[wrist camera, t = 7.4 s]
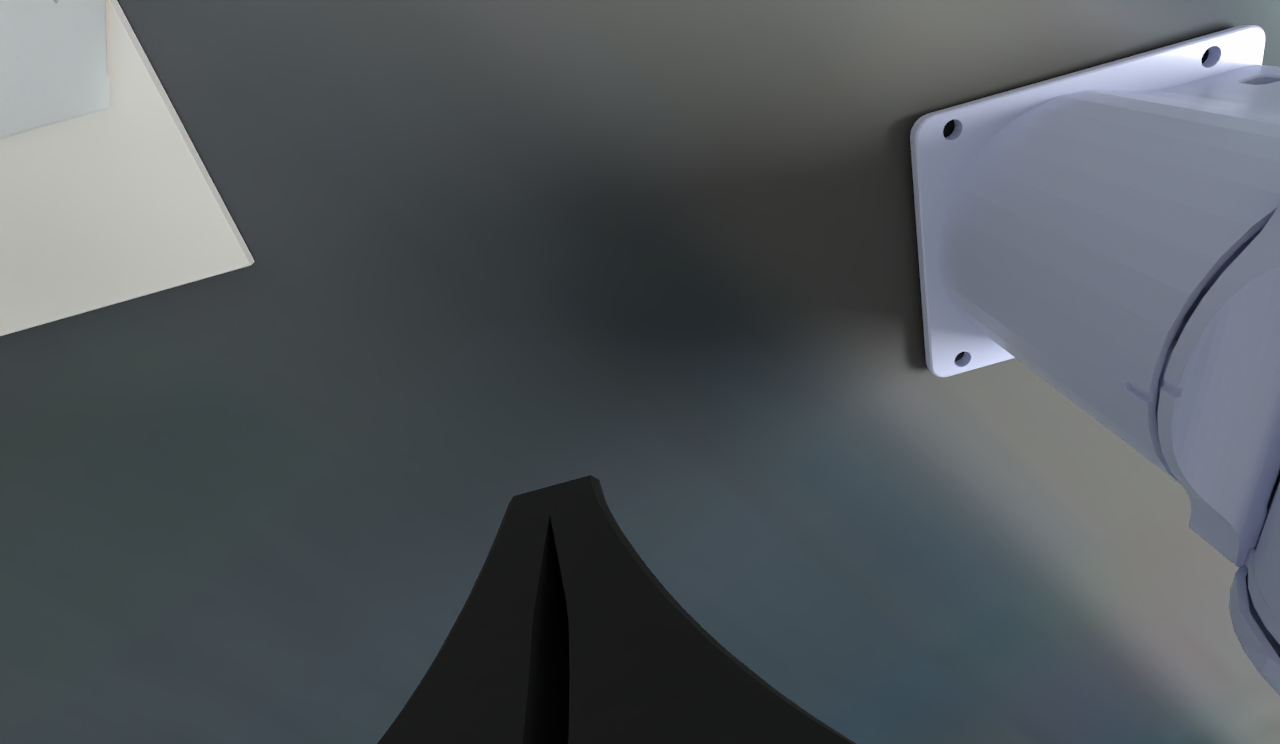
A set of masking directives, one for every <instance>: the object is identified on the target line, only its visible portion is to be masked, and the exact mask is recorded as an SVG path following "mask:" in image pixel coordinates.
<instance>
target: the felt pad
mask: <svg viewBox="0 0 1280 744" xmlns="http://www.w3.org/2000/svg"><path fill="white" fill-rule="evenodd" d="M106 38H107V65H108V74H109V78H110V106H109V108H108V109H105V110H101V111H97V112H93V113H90V114H86V115H82V116H79V117H75V118H72V119H69V120H65V121H62V122H58V123H54V124H50V125H47V126H43V127H40V128H36V129H33V130H29V131H26V132H23V133H19V134H16V135H13V136H10V137H7V138H4V139H0V336H3V335H6V334H10V333H13V332H17V331H20V330H24V329H27V328H31V327H34V326H38V325H41V324H45V323H49V322H52V321H56V320H59V319H63V318H66V317H70V316H73V315H77V314H80V313H84V312H87V311H91V310H94V309H98V308H102V307H105V306H109V305H112V304H116V303H119V302H123V301H126V300H130V299H133V298H137V297H140V296H144V295H148V294H151V293H155V292H158V291H162V290H165V289H169V288H172V287H176V286H179V285H183V284H186V283H190V282H194V281H197V280H201V279H204V278H208V277H211V276H215V275H218V274H222V273H225V272H229V271H232V270H236V269H240V268H243V267H247V266H250V265H252V264H253V263H254V262H255V261H254V259H253V257H252V255H251V253H250V252H249V250H248V248H247V246H246V244H245V242H244V240H243V238H242V236H241V234H240V233H239V231H238V229H237V227H236V225H235V223H234V221H233V219H232V217H231V215H230V214H229V212H228V210H227V208H226V206H225V204H224V202H223V200H222V198H221V197H220V195H219V193H218V191H217V189H216V187H215V185H214V183H213V181H212V179H211V178H210V176H209V174H208V172H207V170H206V168H205V166H204V164H203V162H202V161H201V159H200V157H199V155H198V153H197V151H196V149H195V147H194V145H193V143H192V142H191V140H190V138H189V136H188V134H187V132H186V130H185V128H184V126H183V124H182V123H181V121H180V119H179V117H178V115H177V113H176V111H175V109H174V107H173V106H172V104H171V102H170V100H169V98H168V96H167V94H166V92H165V90H164V88H163V87H162V85H161V83H160V81H159V79H158V77H157V75H156V73H155V71H154V70H153V68H152V66H151V64H150V62H149V60H148V58H147V56H146V54H145V52H144V51H143V49H142V47H141V45H140V43H139V41H138V39H137V37H136V35H135V33H134V32H133V30H132V28H131V26H130V24H129V22H128V20H127V18H126V16H125V15H124V13H123V11H122V9H121V7H120V5H119V3H118V1H117V0H106Z"/></svg>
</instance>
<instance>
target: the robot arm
mask: <svg viewBox="0 0 1280 744" xmlns="http://www.w3.org/2000/svg"><path fill="white" fill-rule="evenodd" d="M1264 46H1265V33H1264V31H1263V29H1262V28H1260V27H1258V26H1256V25H1240V26H1236V27H1233V28H1229V29H1226V30H1222V31H1219V32H1215V33H1212V34H1208V35H1204V36H1201V37H1197V38H1194V39H1190V40H1187V41H1183V42H1180V43H1176V44H1173V45H1169V46H1165V47H1162V48H1158V49H1155V50H1151V51H1148V52H1144V53H1141V54H1137V55H1134V56H1130V57H1127V58H1123V59H1119V60H1116V61H1112V62H1109V63H1105V64H1102V65H1098V66H1095V67H1091V68H1088V69H1084V70H1080V71H1077V72H1073V73H1070V74H1066V75H1063V76H1059V77H1056V78H1052V79H1049V80H1045V81H1042V82H1038V83H1034V84H1031V85H1027V86H1024V87H1020V88H1017V89H1013V90H1010V91H1006V92H1003V93H999V94H996V95H992V96H988V97H985V98H981V99H978V100H974V101H971V102H967V103H964V104H960V105H957V106H953V107H949V108H946V109H942V110H939V111H935V112H932V113H928V114H926V115H924V116H922V117H920V118H919V119H918V120H917V121H916V122H915V123H914V125H913V127H912V129H911V134H910V144H911V158H912V173H913V187H914V201H915V215H916V229H917V243H918V257H919V271H920V285H921V299H922V313H923V327H924V341H925V355H926V365H927V368H928V369H929V370H930V371H931V372H932V373H933V374H934V375H935V376H938V377H948V376H952V375H955V374H959V373H962V372H966V371H970V370H973V369H977V368H980V367H984V366H987V365H991V364H995V363H998V362H1002V361H1005V360H1009V359H1012V358H1016V359H1017V360H1019V361H1020V362H1021V363H1023V364H1024V365H1025V366H1027V367H1028V368H1029V369H1031V370H1032V371H1033V372H1035V373H1036V374H1037V375H1038V376H1040V377H1041V378H1042V379H1044V380H1045V381H1046V382H1048V383H1049V384H1050V385H1052V386H1053V387H1054V388H1055V389H1057V390H1058V391H1059V392H1061V393H1062V394H1063V395H1065V396H1066V397H1067V398H1069V399H1070V400H1071V401H1072V402H1074V403H1075V404H1076V405H1078V406H1079V407H1080V408H1082V409H1083V410H1084V411H1086V412H1087V413H1088V414H1090V415H1091V416H1092V417H1093V418H1095V419H1096V420H1097V421H1099V422H1100V423H1101V424H1103V425H1104V426H1105V427H1107V428H1108V429H1109V430H1110V431H1112V432H1113V433H1114V434H1116V435H1117V436H1118V437H1120V438H1121V439H1122V440H1124V441H1125V442H1126V443H1127V444H1129V445H1130V446H1131V447H1133V448H1134V449H1135V450H1137V451H1138V452H1139V453H1141V454H1142V455H1143V456H1145V457H1146V458H1147V459H1148V460H1150V461H1151V462H1152V463H1154V464H1155V465H1156V466H1158V467H1159V468H1160V469H1162V470H1163V471H1164V472H1165V473H1167V474H1168V475H1169V476H1171V477H1172V478H1173V479H1175V480H1176V481H1177V482H1179V483H1180V484H1181V485H1182V486H1183V487H1184V489H1185V490H1186V491H1187V493H1188V495H1189V498H1190V501H1191V517H1190V522H1189V527H1190V528H1191V529H1192V530H1193V531H1195V532H1196V533H1197V534H1198V535H1200V536H1201V537H1202V538H1203V539H1204V540H1206V541H1207V542H1208V543H1209V544H1210V545H1212V546H1213V547H1214V548H1215V549H1217V550H1218V551H1219V552H1220V553H1221V554H1223V555H1224V556H1225V557H1226V558H1228V559H1229V560H1230V561H1231V562H1232V563H1234V564H1235V565H1236V566H1238V567H1240V568H1239V569H1238V571H1237V572H1236V574H1235V577H1234V580H1233V583H1232V586H1231V588H1230V602H1229V609H1230V614H1231V619H1232V623H1233V627H1234V631H1235V633H1236V635H1237V637H1238V639H1239V641H1240V643H1241V645H1242V647H1243V650H1244V652H1245V653H1246V655H1247V656H1248V657H1249V659H1250V660H1251V662H1252V663H1253V664H1254V666H1255V667H1256V669H1257V670H1258V671H1259V673H1260V674H1261V676H1262V677H1263V678H1264V679H1265V680H1266V681H1267V682H1268V683H1269V684H1270V685H1271V687H1272V688H1273V689H1274V690H1275V691H1276V692H1277V693H1278V694H1279V695H1280V67H1276V66H1266V65H1262V60H1263V53H1264ZM1207 49H1209V55H1208V58H1207V60H1206V61H1205V62H1204V63H1203V64H1202V60H1201V59H1202V56H1203V54H1204V53H1205V51H1206V50H1207ZM952 119H953V120H954V123H955V128H954V131H953V132H952V134H951V135H950V136H948V137H946V138H944V135H943V129H944V126H945V125H946V124H947V122H949V121H951V120H952ZM961 352H964V356H963V357H962V358H961V359H960V360H958V361H955V357H956V356H957V355H958V354H959V353H961ZM378 744H856V743H854V742H853V741H851V740H849V739H848V738H846V737H845V736H843V735H841V734H840V733H838V732H837V731H835V730H833V729H832V728H830V727H829V726H827V725H826V724H824V723H823V722H821V721H820V720H818V719H817V718H815V717H813V716H812V715H810V714H809V713H808V712H806V711H805V710H803V709H802V708H801V707H799V706H798V705H796V704H795V703H794V702H792V701H791V700H789V699H788V698H786V697H785V696H784V695H782V694H781V693H779V692H778V691H777V690H775V689H774V688H773V687H772V686H770V685H769V684H768V683H767V682H765V681H764V680H763V679H762V678H760V677H759V676H758V675H757V674H755V673H754V672H753V671H752V670H750V669H749V668H748V667H747V666H745V665H744V664H743V663H742V662H740V661H739V660H738V659H737V658H736V657H734V656H733V655H732V654H731V653H729V652H728V651H727V650H726V649H725V648H724V647H723V646H722V645H720V644H719V643H718V642H717V641H716V640H715V639H714V638H713V637H712V636H711V635H710V634H709V633H707V632H706V631H705V630H704V629H703V628H702V627H701V626H700V625H699V624H698V623H697V622H696V621H695V620H694V619H693V618H692V617H691V616H690V615H689V614H688V613H687V612H686V611H685V610H684V609H683V608H682V607H681V606H680V604H679V603H678V602H677V601H676V600H675V599H674V598H673V597H672V596H671V595H670V593H669V592H668V591H667V590H666V589H665V588H664V586H663V585H662V584H661V583H660V582H659V580H658V579H657V578H656V577H655V576H654V575H653V573H652V572H651V571H650V570H649V568H648V567H647V566H646V564H645V563H644V562H643V561H642V559H641V558H640V557H639V555H638V554H637V552H636V551H635V549H634V548H633V547H632V545H631V544H630V542H629V541H628V539H627V538H626V537H625V535H624V534H623V532H622V530H621V529H620V527H619V526H618V524H617V522H616V521H615V519H614V517H613V515H612V513H611V512H610V510H609V508H608V506H607V504H606V501H605V498H604V494H603V491H602V488H601V485H600V481H599V479H597V478H595V477H593V476H591V475H590V476H586V477H582V478H579V479H575V480H571V481H568V482H564V483H561V484H557V485H553V486H550V487H546V488H542V489H539V490H535V491H531V492H528V493H524V494H520V495H517V496H514V497H513V498H512V500H511V501H510V503H509V505H508V507H507V510H506V513H505V515H504V518H503V520H502V523H501V525H500V528H499V530H498V533H497V535H496V538H495V540H494V543H493V545H492V547H491V550H490V552H489V554H488V557H487V559H486V561H485V563H484V565H483V568H482V570H481V572H480V574H479V576H478V578H477V580H476V582H475V585H474V587H473V589H472V591H471V593H470V595H469V597H468V599H467V601H466V603H465V605H464V607H463V609H462V611H461V613H460V615H459V616H458V618H457V620H456V622H455V624H454V626H453V627H452V629H451V631H450V633H449V635H448V637H447V638H446V640H445V642H444V644H443V646H442V648H441V649H440V651H439V653H438V655H437V656H436V658H435V660H434V661H433V663H432V665H431V666H430V668H429V670H428V671H427V673H426V674H425V676H424V678H423V679H422V681H421V682H420V684H419V685H418V687H417V688H416V690H415V691H414V693H413V695H412V696H411V698H410V699H409V701H408V702H407V704H406V705H405V707H404V708H403V710H402V711H401V712H400V714H399V715H398V717H397V718H396V719H395V721H394V722H393V724H392V725H391V726H390V728H389V729H388V730H387V732H386V733H385V734H384V736H383V737H382V738H381V740H380V741H379V742H378Z"/></svg>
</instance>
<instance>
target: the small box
mask: <svg viewBox="0 0 1280 744" xmlns="http://www.w3.org/2000/svg"><path fill="white" fill-rule="evenodd" d="M109 106H110V78H109V74H108V65H107V38H106V0H0V139H4V138H7V137H10V136H13V135H16V134H19V133H23V132H26V131H29V130H33V129H36V128H40V127H43V126H47V125H50V124H54V123H58V122H62V121H65V120H69V119H72V118H75V117H79V116H82V115H86V114H90V113H93V112H97V111H101V110H105V109H108V108H109Z"/></svg>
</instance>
